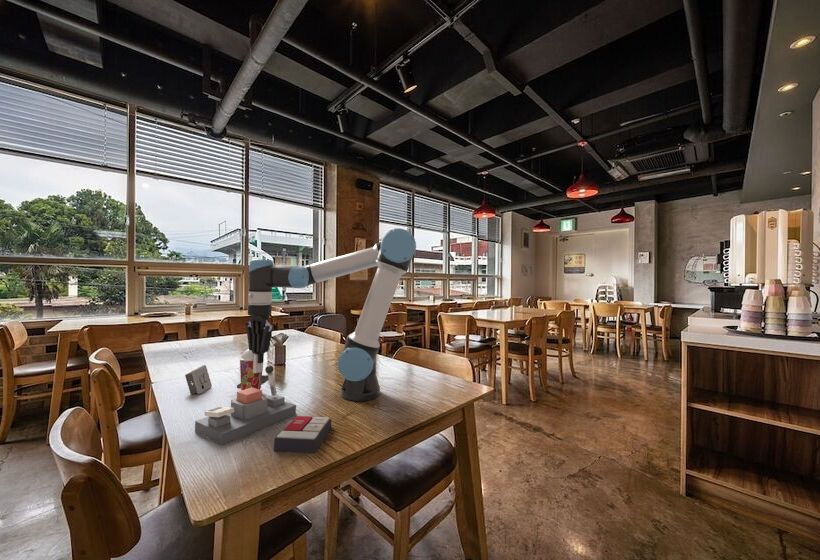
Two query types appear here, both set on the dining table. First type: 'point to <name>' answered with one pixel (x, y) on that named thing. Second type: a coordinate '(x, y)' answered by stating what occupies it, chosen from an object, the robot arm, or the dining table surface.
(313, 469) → the dining table surface
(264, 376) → the phone
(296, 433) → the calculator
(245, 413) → the switch panel
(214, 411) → the rocker switch
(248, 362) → the smoothie
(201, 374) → the electrical switch
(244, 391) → the push button
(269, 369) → the toggle lever
